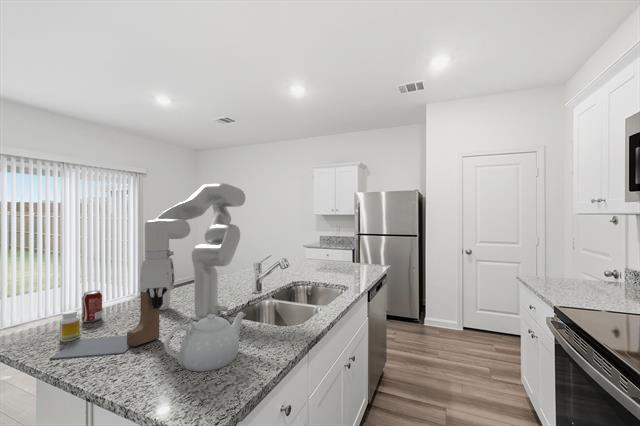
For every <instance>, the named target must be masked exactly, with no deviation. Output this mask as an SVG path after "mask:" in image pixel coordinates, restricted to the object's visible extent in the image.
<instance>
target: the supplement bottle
mask: <svg viewBox="0 0 640 426" xmlns="http://www.w3.org/2000/svg"><path fill="white" fill-rule="evenodd" d="M80 322H81V321H80V317H79V316H78V311H77V310H73V309H72V310H67V311H65V312H62V318H61V319H60V321H59V340H60V342H65V343H66V342H72V341H76V340H78V339H80V336H81V335H80V334H81V331H80V330H81V329H80V326H81V324H80Z"/></svg>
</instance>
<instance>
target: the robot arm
mask: <svg viewBox="0 0 640 426" xmlns="http://www.w3.org/2000/svg"><path fill="white" fill-rule="evenodd" d="M245 202H246V194H245V192H244V191H243V190H242V189H241V188H240V187H236V186H233V185H231V184H228V183H224V182H218V183H205V184H203V185H201V187H200V188H198V189H197V190H196V191H195V192H194V193H193V194H192V195H190V197H189V198H188V199H186V200H185V201H183V202H182V201H181V202H179V203H178V204H176V205H173V206H172V207H170V208H168V209H166V210H164V211H162V213H160V214H159V215H158V216H156V218H155V219H153V220H152V219H151V220H147V221H145V223H144V259H142V262H141V266H140V267H141V268H140V274H139V286H140V288H139V292H140V293H141V292H147V293H148V294H149V295H150V296H151V297H152V306H153V309H156V308H157V309H159V308H160V307H161V305H162V304H163V295H164V293H166V292H167V291H170V290H171V291H173V290H174V289H175V286H174V285H175V281H176V279H175V268H174V261H173V258H172V257H171V256H174V251H171V250H170V240H183V239H185V238H187V237H188V236H189V234H190V233H191V228H192V227H191V225H190V223H189V222H188V221H189V220H193V219H196V218H198V217H201V216H203V215H204V214H205V213H206V212H207V210H208V209H209V208H210V207H211V206H212V210H213V216H212V219H211V221H210V222H209V225H208V226H207V228H206V231H205V233H204V241H205V242H206V243H200V244H198V245H195V246H194V248H193V249H192V250H191V261H192V262H191V263H192V265H193V266H192V267H193V273H194V274H193V276H194V277H193V278H194V282H193V283H194V284H193V285H194V312H192V313H191V315H190V319H191V320H193V321H196V322H198V321H199V320H201V319H204V318H207V316H208V315H210V314H214V315H215V317H221V316H222V312H228V311H229V306H227V305H221V304H220V302H219V299H218V297H219V291H218V290H219V288H218V287H219V286H218V285H219V284H218V282H219V280H218V278H219V277H218V276H219V275H218V272H217V270H216V268H215V267H226V266H228V265H229V264H231V262H232V261H233V258H234V255H235V253H236V251H237V248H238V247H239V246H238V245H239V242H240V239H241V229H240V227H239V226H237V225H236V224H232V223H231V222H232V216H231V213H230V212H229V210H228V209H227V208H234V207H235V208H236V207H241V206H244V204H245ZM156 288H159V291H158V295H157V290H156Z"/></svg>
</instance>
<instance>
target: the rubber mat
mask: <svg viewBox="0 0 640 426" xmlns="http://www.w3.org/2000/svg"><path fill="white" fill-rule="evenodd" d="M131 347H132V346H130V345H127V335H116V336H115V335H114V336H104V337H103V336H101V337H90V338H89V337H87V338H77V339H76V340H74V342H73V343H71V344H69V345H68V346H66V347H65V348H63V349H61V350H60V351H59V352H57V353H55V354H54V355H52V356H51V357H50V358H49V360H51V361H52V360H63V359H73V358H75V359H76V358H83V357H84V358H85V357H97V356H98V357H99V356H108V355H109V356H111V355H121V354H126V353H127V351H128V350H129V349H130V348H131Z"/></svg>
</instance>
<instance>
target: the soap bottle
mask: <svg viewBox="0 0 640 426" xmlns="http://www.w3.org/2000/svg"><path fill="white" fill-rule="evenodd" d="M171 291H172V290H170V291H167V292H166V293H164V295H163V304H162V305H161V307H160V308H159V311H165V310H168V309H169V308H170V304H171V294H172V293H171Z"/></svg>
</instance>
